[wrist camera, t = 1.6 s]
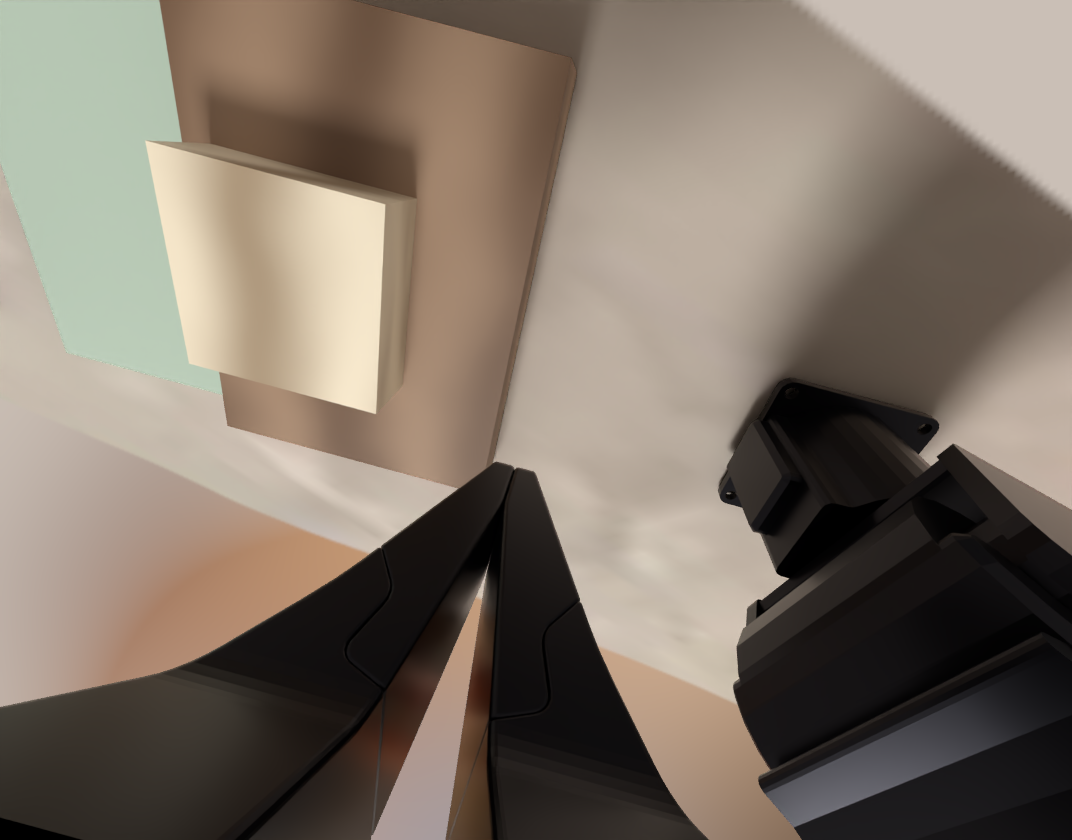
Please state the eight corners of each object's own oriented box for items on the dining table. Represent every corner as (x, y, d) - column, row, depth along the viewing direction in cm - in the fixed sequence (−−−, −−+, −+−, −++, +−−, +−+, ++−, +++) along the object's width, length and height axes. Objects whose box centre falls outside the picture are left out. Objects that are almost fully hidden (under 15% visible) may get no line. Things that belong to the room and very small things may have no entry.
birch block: (416, 198, 15) (385, 204, 13) (402, 385, 18) (376, 414, 16) (210, 143, 15) (145, 140, 13) (236, 341, 18) (189, 363, 16)
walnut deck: (577, 73, 14) (571, 57, 12) (492, 462, 23) (480, 494, 20) (218, -22, 14) (150, -54, 12) (263, 401, 23) (227, 425, 21)
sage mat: (218, -22, 14) (209, -26, 14) (263, 401, 23) (258, 404, 22) (-77, -99, 15) (-94, -105, 14) (74, 349, 23) (66, 352, 22)
